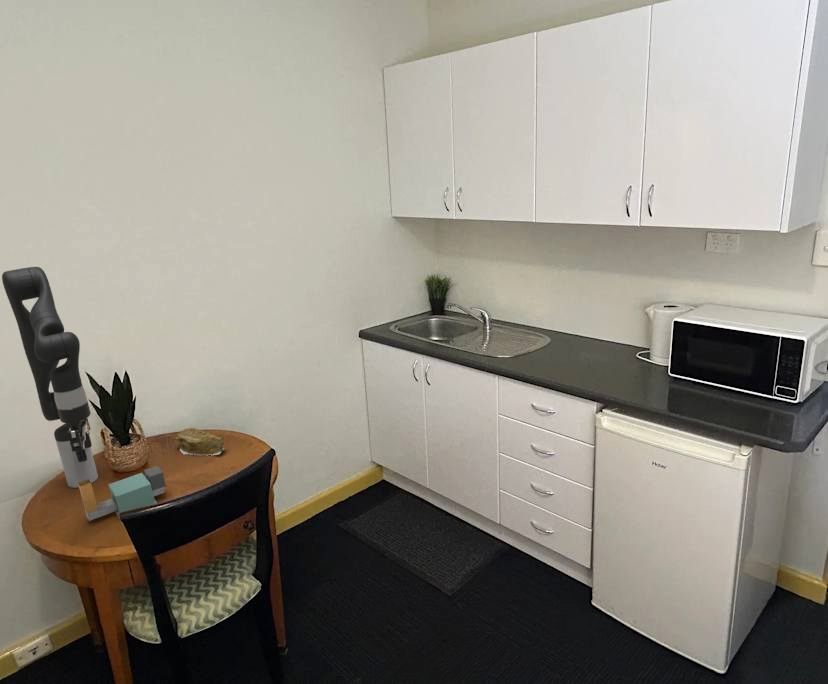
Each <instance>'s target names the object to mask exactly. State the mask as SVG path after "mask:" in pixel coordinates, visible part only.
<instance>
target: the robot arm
mask: <svg viewBox="0 0 828 684" xmlns="http://www.w3.org/2000/svg"><path fill="white" fill-rule="evenodd" d="M1 281H2V285H3V289H4V291H5V293H6V296H7V299H8V302H9V304H10V307H11V310H12V312H13V315H14V319H15V321H16V323H17V327H18V331H19V334H20V335H19V336H20V338H21V342H22V343H21V344H22V346H23V349H24V353H25V356H26V360H27V362H28V364H29V368H30V370H31V373H32V376H33V379H34V383H35V387H36V392H37V396H38V401H39V404H40V409H41V413H42V415H43V417H44V419H45V420H46V421H48V422H52V421H57V420H60V422H61V423H64V424H62V425H61V426H59V427H57V428H55V430H54V433H53V436H54V438H55V442H56V447H57V450H58V453H59V457H60V460H61V464H62V468H63V472H64V476H65V478H66V479H65V480H66V482H67V486H68V488H71V489H72V488H75V489H76V488H79V486H78V482H81V481H84V480H87V479H89V480H90V482H91V484H93V483H94V482H95V481H97V480H98V478H99V475H98V470H97V466H96V463H95V460H94V459H95V458H94V455H93V452H92V445H93V444H92V440H91V436H90V433H91V432H90V431H91V426H90V423H89V422H90V421H89V419H88V418H90V416H91V409H90V406H89V401H88V396H87V393H86V391H85V388H84V386H83V383H82V378H81V375H80V367H79V362H80V361H79V360H80V359H79V358H80V350H81V348H80V347H81V344H80V339H79V338H78V336H77V335H76V334H75V333H74V332H71V331H65V327H64V326H65V325H63V322H62V320H61V318H60V316H59V314H58V311H57V308H56V305H55V299H54V296H53V292H52V288H51V286H50V283H49V279H48V277H47V274H46V272H45V271H44V270H43V268H41V267H40V266H28V267H23V268H16V269H12V270H6V271H4V272H3V273H2V274H1ZM32 299H33V300H34V299H36V301H35V303H34V304H33V306H32V307H31V310H30V311H29V309H28V308H26V305H24V303H23V301H27V300H32ZM65 359H66V360H65ZM61 360H65V363H63V364H62V365H59V362H60V361H61ZM50 384H51V387H52V390H53V391H51V392H50V391H49V389H50Z"/></svg>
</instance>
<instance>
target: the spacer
mask: <svg viewBox="0 0 828 684" xmlns="http://www.w3.org/2000/svg"><path fill="white" fill-rule="evenodd" d="M144 476H145V477H146V479H147V480H148V481H149V482H150V484H151V487H152V490H153V491H154V490H157V489H159V488H162V487H164V488H166V486H167V485H166V480H165V474H164V472H163V470H162V469H161V468H160V467H159V466H158V465H155V466H151V467H149V468H146V469H144Z"/></svg>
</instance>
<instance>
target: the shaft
mask: <svg viewBox="0 0 828 684" xmlns="http://www.w3.org/2000/svg"><path fill="white" fill-rule="evenodd" d="M78 486H79V487H78V488H79V492H80V493H79V494H80V496H81V500H82V503H83V507H84V512H85V515H86V518H87V520H88V522H91V521H93V520H96V519H98V518H101V517H103V516H107V515H109V514H112V513H114V512H115V511H117V510H118V507H117V503H116V500H115V499H114V498H112V497H111V498H109V499H107V500H104V501H101V502H98V503H97V500H96V497H95V493H94V489H93V486H92V483H91V482H90V480H89V479H87V480H84V481H81V482H78ZM152 492H153V496H154V497H156V496H157V497H158V495H161V494H164V493H165V492H166V491H165V487H162V488H159V489H157V490H154V491H153V490H152Z"/></svg>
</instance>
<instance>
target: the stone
mask: <svg viewBox="0 0 828 684" xmlns="http://www.w3.org/2000/svg"><path fill="white" fill-rule="evenodd" d="M173 439H174V443H175V444H176V445H177V446H178V448H179V452H180V453H183V454H182V455H185V454H186V455H191V456H196V455H197V456H202V455H206V456H208V454H209V455H211V456H217V455H220V454H221V453H222V452H224V450H225V448H224V447H223V446H224V444H225V439H224V437H221V436H217V434H216V435H214V434H212V433H211V432H210V431H209V432H206V431H203V430H199V429H197V428H194V427H191V428H189V427H188V428H184V429H182V430H181V431H180V432H179V433H177V434H175V437H173ZM193 454H194V455H193ZM201 454H202V455H201ZM211 456H210V457H211Z"/></svg>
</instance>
